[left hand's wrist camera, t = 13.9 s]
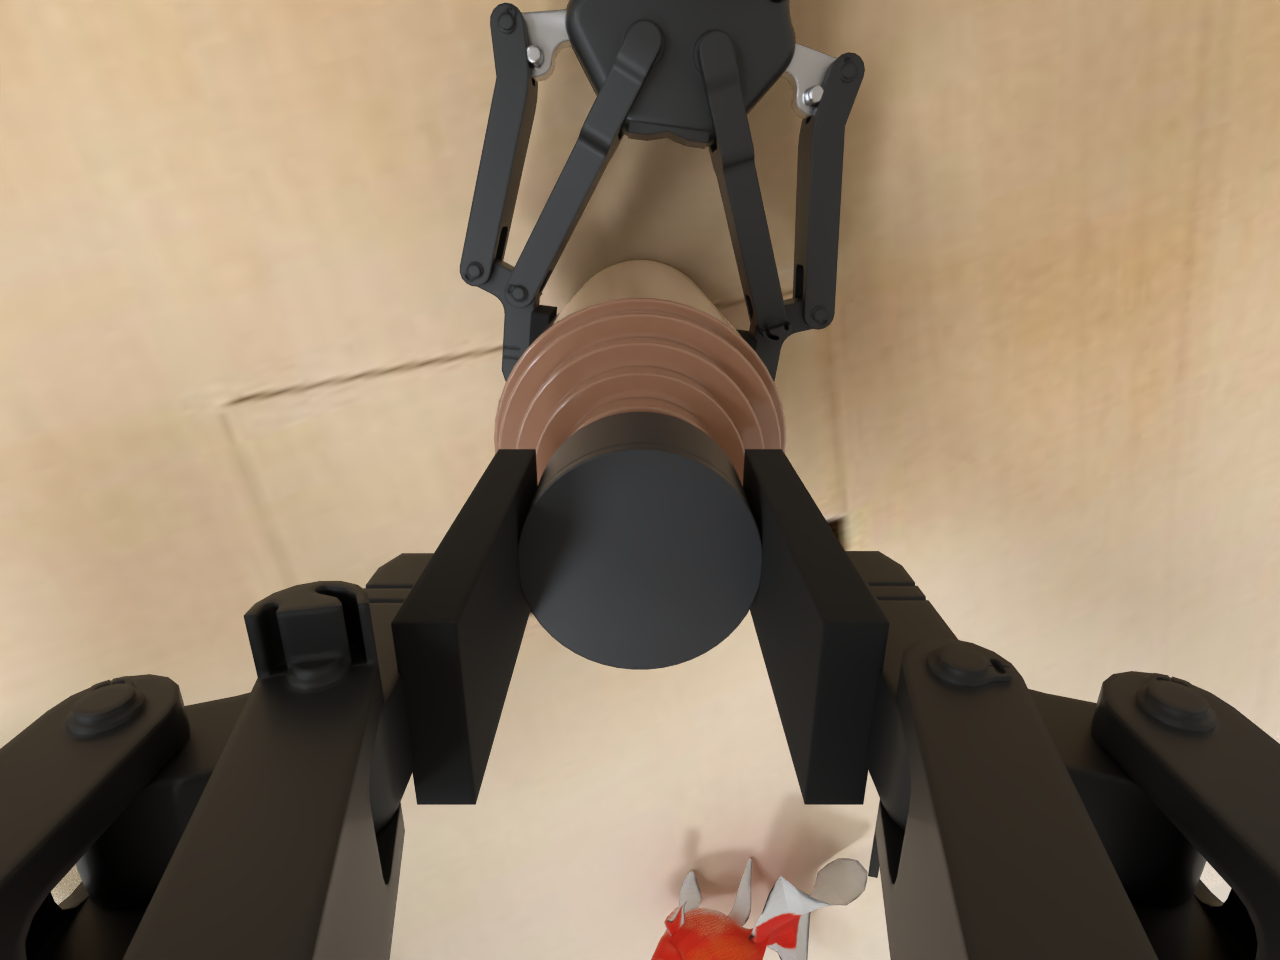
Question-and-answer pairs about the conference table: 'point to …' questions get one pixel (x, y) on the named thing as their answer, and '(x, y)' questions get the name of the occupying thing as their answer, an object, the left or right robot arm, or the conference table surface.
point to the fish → (732, 955)
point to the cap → (640, 543)
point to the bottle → (640, 367)
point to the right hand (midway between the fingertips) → (627, 464)
